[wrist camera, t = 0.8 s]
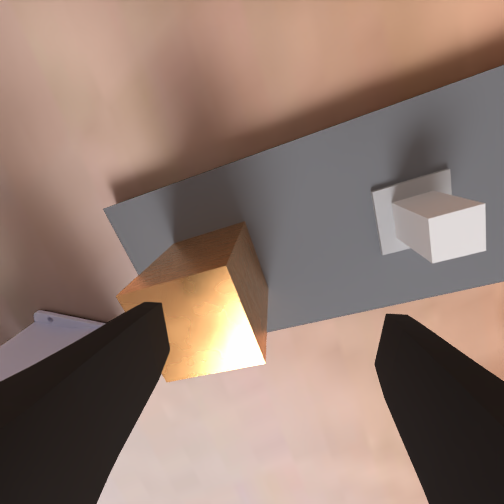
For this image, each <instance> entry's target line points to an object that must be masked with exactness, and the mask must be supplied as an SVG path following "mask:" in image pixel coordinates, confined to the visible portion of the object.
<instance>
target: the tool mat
mask: <svg viewBox="0 0 504 504" xmlns="http://www.w3.org/2000/svg"><path fill="white" fill-rule="evenodd" d="M103 210H104V212H105V214H106V216H107V218H108V219H109V221H110V223H111V225H112V227H113V229H114V230H115V232H116V234H117V236H118V238H119V240H120V242H121V243H122V245H123V247H124V249H125V251H126V253H127V255H128V256H129V258H130V260H131V262H132V264H133V266H134V268H135V269H136V271H137V273H138V275H140V274H141V273H142V272H143V271H144V270H145V269H146V268H147V267H148V266H149V265H151V264H152V263H153V262H154V261H155V260H156V259H157V258H158V257H159V256H160V255H161V254H163V253H164V252H165V251H166V250H167V249H168V248H169V247H170V246H171V245H172V244H174V243H176V242H179V241H183V240H186V239H189V238H192V237H196V236H199V235H202V234H205V233H209V232H212V231H215V230H218V229H222V228H225V227H228V226H231V225H235V224H238V223H241V222H244V221H245V223H246V226H247V229H248V232H249V235H250V237H251V240H252V243H253V246H254V249H255V252H256V254H257V257H258V260H259V263H260V266H261V269H262V272H263V274H264V277H265V280H266V283H267V286H268V289H269V290H268V313H267V332H271V331H276V330H280V329H285V328H290V327H294V326H299V325H304V324H308V323H313V322H317V321H322V320H327V319H331V318H336V317H341V316H345V315H350V314H355V313H359V312H364V311H369V310H373V309H378V308H383V307H387V306H392V305H396V304H401V303H406V302H410V301H415V300H420V299H424V298H429V297H434V296H438V295H443V294H448V293H452V292H457V291H462V290H466V289H471V288H475V287H480V286H485V285H489V284H494V283H499V282H503V281H504V65H502V66H499V67H497V68H494V69H491V70H488V71H485V72H483V73H480V74H477V75H474V76H472V77H469V78H466V79H463V80H460V81H458V82H455V83H452V84H449V85H447V86H444V87H441V88H438V89H435V90H433V91H430V92H427V93H424V94H421V95H419V96H416V97H413V98H410V99H408V100H405V101H402V102H399V103H396V104H394V105H391V106H388V107H385V108H383V109H380V110H377V111H374V112H371V113H369V114H366V115H363V116H360V117H357V118H355V119H352V120H349V121H346V122H344V123H341V124H338V125H335V126H332V127H330V128H327V129H324V130H321V131H318V132H316V133H313V134H310V135H307V136H305V137H302V138H299V139H296V140H293V141H291V142H288V143H285V144H282V145H280V146H277V147H274V148H271V149H268V150H266V151H263V152H260V153H257V154H254V155H252V156H249V157H246V158H243V159H241V160H238V161H235V162H232V163H229V164H227V165H224V166H221V167H218V168H216V169H213V170H210V171H207V172H204V173H202V174H199V175H196V176H193V177H190V178H188V179H185V180H182V181H179V182H177V183H174V184H171V185H168V186H165V187H163V188H160V189H157V190H154V191H151V192H149V193H146V194H143V195H140V196H138V197H135V198H132V199H129V200H126V201H124V202H121V203H118V204H115V205H113V206H110V207H107V208H104V209H103Z"/></svg>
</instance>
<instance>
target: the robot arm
mask: <svg viewBox="0 0 504 504" xmlns="http://www.w3.org/2000/svg"><path fill="white" fill-rule="evenodd" d="M169 352H170V345H169V339H168V334H167V328H166V323H165V318H164V312H163V307H162V303H161V302H143V303H141V304H139V305H137V306H135V307H133V308H132V309H130V310H128V311H126V312H125V313H123V314H121V315H120V316H118V317H116V318H115V319H113V320H111V321H109V322H108V323H101V322H96V321H92V320H87V319H82V318H77V317H72V316H67V315H62V314H58V313H53V312H48V311H43V310H38V311H37V312H35V313H34V323H32V324H31V325H29V326H28V327H27V328H25V329H24V330H22V331H21V332H20V333H18V334H17V335H15V336H14V337H13V338H11V339H10V340H8V341H7V342H6V343H4V344H3V345H1V346H0V504H97V501H98V499H99V497H100V494H101V492H102V490H103V488H104V485H105V483H106V481H107V478H108V476H109V474H110V472H111V470H112V468H113V466H114V464H115V462H116V460H117V458H118V456H119V454H120V452H121V450H122V448H123V446H124V444H125V442H126V441H127V439H128V437H129V435H130V433H131V431H132V429H133V427H134V426H135V424H136V422H137V420H138V418H139V416H140V414H141V413H142V411H143V409H144V407H145V405H146V403H147V401H148V399H149V397H150V396H151V394H152V392H153V390H154V388H155V386H156V384H157V382H158V380H159V378H160V376H161V373H162V371H163V368H164V366H165V363H166V360H167V358H168V355H169ZM375 367H376V371H377V375H378V378H379V382H380V385H381V388H382V392H383V395H384V398H385V400H386V403H387V405H388V408H389V410H390V412H391V415H392V417H393V420H394V422H395V424H396V427H397V429H398V431H399V434H400V436H401V438H402V441H403V443H404V445H405V448H406V450H407V452H408V455H409V457H410V459H411V462H412V464H413V466H414V469H415V471H416V473H417V476H418V478H419V480H420V483H421V485H422V487H423V490H424V492H425V495H426V497H427V500H428V503H429V504H504V381H503V380H501V379H500V378H498V377H497V376H495V375H494V374H492V373H491V372H489V371H488V370H486V369H485V368H483V367H482V366H481V365H479V364H478V363H476V362H475V361H473V360H472V359H470V358H469V357H468V356H466V355H465V354H463V353H462V352H460V351H459V350H458V349H456V348H455V347H453V346H452V345H451V344H449V343H448V342H446V341H445V340H444V339H442V338H441V337H439V336H438V335H436V334H435V333H434V332H432V331H431V330H429V329H428V328H426V327H425V326H424V325H422V324H421V323H419V322H418V321H416V320H415V319H413V318H412V317H410V316H408V315H402V314H386V316H385V320H384V325H383V329H382V333H381V338H380V342H379V347H378V351H377V355H376V360H375Z"/></svg>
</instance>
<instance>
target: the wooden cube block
mask: <svg viewBox="0 0 504 504" xmlns="http://www.w3.org/2000/svg"><path fill="white" fill-rule="evenodd" d="M268 290H269V289H268V286H267V283H266V280H265V277H264V274H263V272H262V269H261V266H260V263H259V260H258V257H257V254H256V252H255V249H254V246H253V243H252V240H251V237H250V235H249V232H248V229H247V226H246V223H245V221H244V222H241V223H238V224H235V225H231V226H228V227H225V228H222V229H218V230H215V231H212V232H209V233H205V234H202V235H199V236H196V237H192V238H189V239H186V240H183V241H179V242H176V243H174V244H172V245H171V246H170V247H169V248H168V249H167V250H166V251H165V252H164V253H163V254H161V255H160V256H159V257H158V258H157V259H156V260H155V261H154V262H153V263H152V264H151V265H149V266H148V267H147V268H146V269H145V270H144V271H143V272H142V273H141V274H140V275H138V276H137V277H136V278H135V279H134V280H133V281H132V282H131V283H130V284H129V285H128V286H126V287H125V288H124V289H123V290H122V291H121V292H120V293H119V294H118V295H117V296H116V298H117V299H118V301H119V303H120V304H121V306H122V308H123V309H124V311H125V312H126V311H128V310H130V309H132V308H133V307H135V306H137V305H139V304H141V303H143V302H161V303H162V307H163V312H164V318H165V323H166V328H167V334H168V339H169V345H170V352H169V355H168V358H167V360H166V363H165V366H164V368H163V371H162V375H163V377H164V378H165V380H166V382H171V381H176V380H181V379H186V378H192V377H197V376H202V375H207V374H213V373H218V372H223V371H228V370H234V369H239V368H244V367H249V366H255V365H260V364H265V360H266V337H267V313H268Z"/></svg>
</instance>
